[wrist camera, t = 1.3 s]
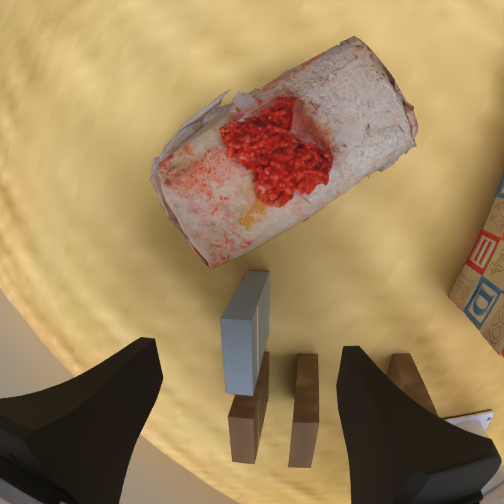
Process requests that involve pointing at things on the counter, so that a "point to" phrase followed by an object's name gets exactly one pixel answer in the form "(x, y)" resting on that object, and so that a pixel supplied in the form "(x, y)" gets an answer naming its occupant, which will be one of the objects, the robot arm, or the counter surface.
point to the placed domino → (245, 333)
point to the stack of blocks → (485, 279)
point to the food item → (282, 151)
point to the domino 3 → (410, 380)
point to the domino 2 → (305, 412)
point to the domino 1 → (249, 418)
